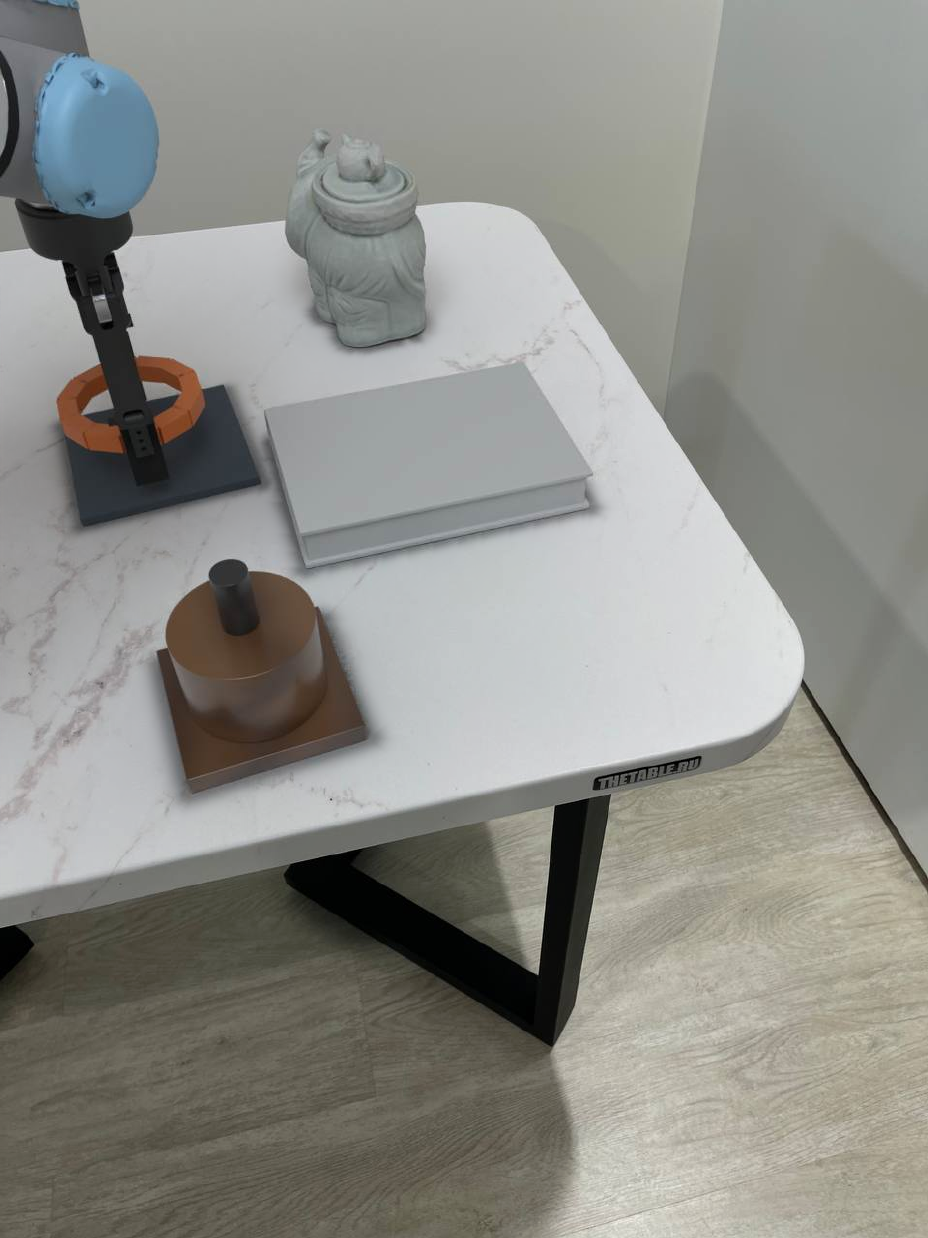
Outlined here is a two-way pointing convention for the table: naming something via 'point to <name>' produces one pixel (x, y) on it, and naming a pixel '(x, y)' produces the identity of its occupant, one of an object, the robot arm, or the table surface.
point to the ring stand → (252, 677)
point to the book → (423, 462)
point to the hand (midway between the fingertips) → (141, 438)
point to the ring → (109, 437)
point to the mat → (193, 460)
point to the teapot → (359, 240)
